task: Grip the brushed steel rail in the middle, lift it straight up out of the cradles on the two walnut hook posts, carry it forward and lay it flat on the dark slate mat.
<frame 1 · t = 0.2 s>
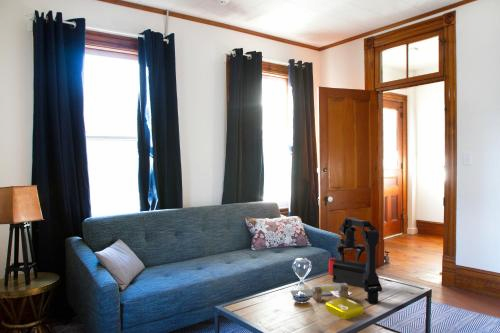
hand: (349, 261, 237), 14 cm above the table, tool pointing down, fingers open, 9 cm apart
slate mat: (311, 293, 221), on the table
steel rail: (330, 290, 214), point 5 cm above the table, touching hook posts
hook posts: (330, 298, 214), on the table
element tile: (344, 312, 198), on the table
game console: (349, 283, 238), on the table
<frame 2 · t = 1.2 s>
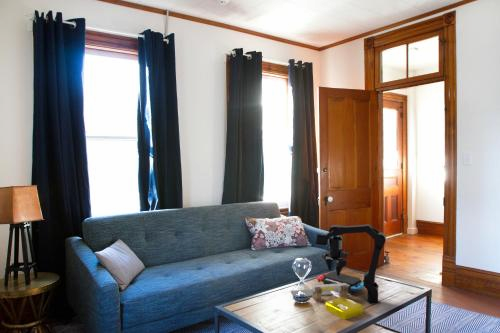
hand: (333, 273, 218), 13 cm above the table, tool pointing down, fingers open, 9 cm apart
game console: (347, 279, 236), point 3 cm above the table
everything else where it was.
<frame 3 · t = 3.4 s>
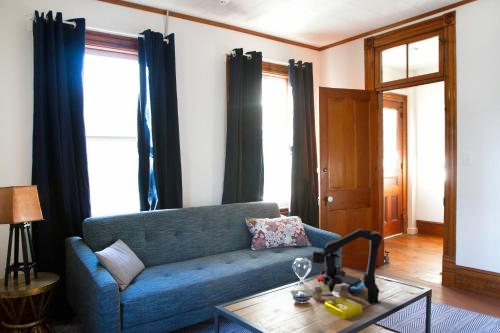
hand: (330, 291, 214), 5 cm above the table, tool pointing down, fingers closed on steel rail, 3 cm apart
steel rail: (330, 290, 214), point 5 cm above the table, touching gripper, hook posts
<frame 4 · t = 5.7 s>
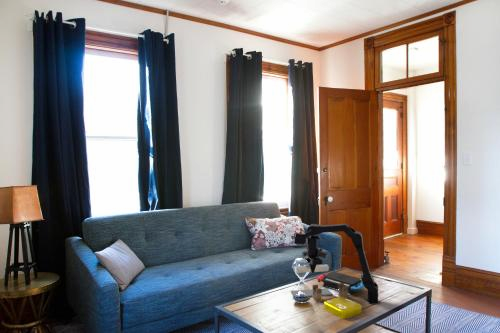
hand: (311, 271, 221), 13 cm above the table, tool pointing down, fingers closed on steel rail, 3 cm apart
steel rail: (311, 271, 221), point 14 cm above the table, touching gripper
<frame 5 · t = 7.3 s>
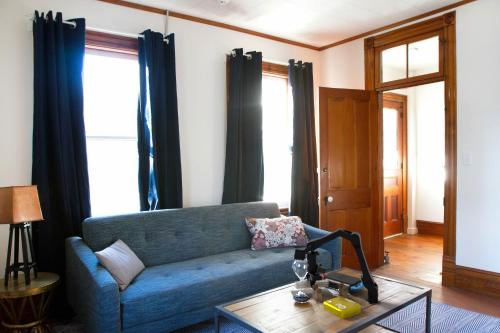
hand: (311, 287, 221), 4 cm above the table, tool pointing down, fingers closed on steel rail, 3 cm apart
steel rail: (311, 286, 221), point 4 cm above the table, touching gripper
when the fingers open (2 cm above the table, at t = 8.3 s): steel rail drops 2 cm, resting on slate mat.
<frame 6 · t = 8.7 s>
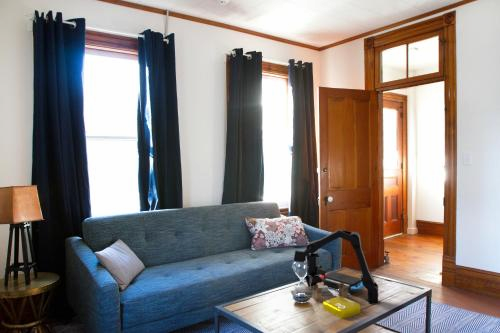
hand: (311, 289, 222), 3 cm above the table, tool pointing down, fingers open, 6 cm apart
steel rail: (311, 292, 221), point 1 cm above the table, touching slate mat
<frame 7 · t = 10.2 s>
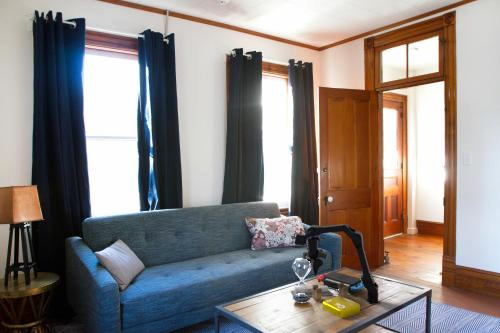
hand: (312, 272, 222), 12 cm above the table, tool pointing down, fingers open, 9 cm apart
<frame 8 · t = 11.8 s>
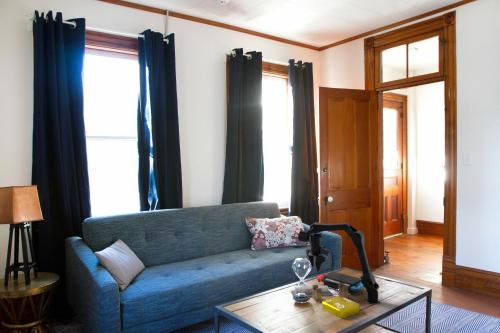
hand: (315, 269, 226), 13 cm above the table, tool pointing down, fingers open, 9 cm apart
at the end: steel rail inside the target area (0.0 cm from its centre), point 0.8 cm above the table; steel rail touching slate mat; steel rail tilted 0° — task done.
